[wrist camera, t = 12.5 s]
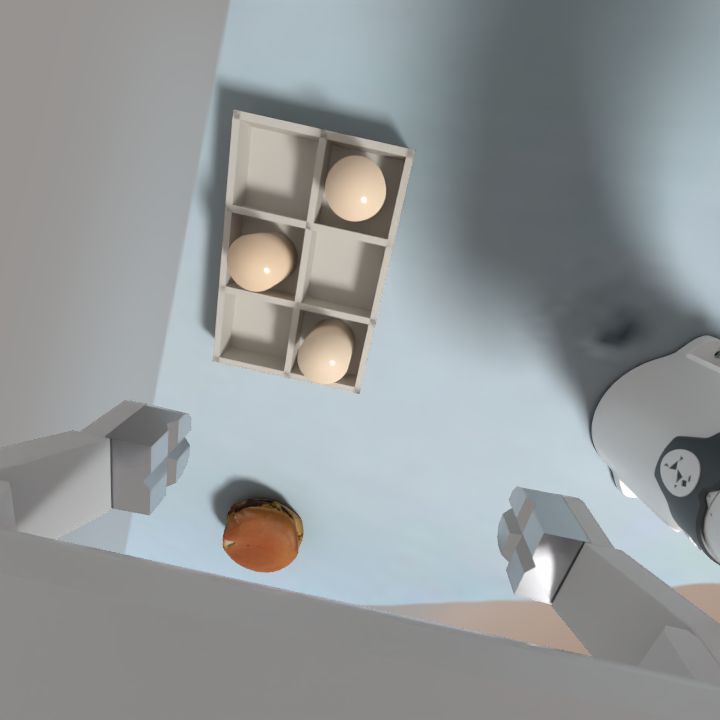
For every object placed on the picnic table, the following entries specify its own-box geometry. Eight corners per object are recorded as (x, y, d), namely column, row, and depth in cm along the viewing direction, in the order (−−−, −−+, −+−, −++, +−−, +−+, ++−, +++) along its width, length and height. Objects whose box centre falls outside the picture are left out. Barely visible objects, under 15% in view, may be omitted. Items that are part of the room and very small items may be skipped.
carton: (413, 155, 35) (415, 150, 32) (361, 379, 43) (359, 393, 40) (248, 119, 35) (233, 109, 32) (226, 349, 43) (212, 361, 40)
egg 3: (391, 170, 35) (391, 162, 30) (380, 224, 37) (378, 227, 31) (340, 159, 35) (330, 149, 30) (331, 214, 37) (320, 214, 31)
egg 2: (359, 323, 40) (353, 341, 35) (350, 365, 42) (343, 389, 36) (314, 313, 40) (301, 330, 35) (307, 355, 42) (293, 378, 36)
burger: (312, 548, 52) (305, 578, 47) (245, 555, 53) (232, 586, 49) (292, 485, 49) (282, 512, 44) (221, 494, 50) (205, 521, 46)
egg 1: (301, 236, 38) (285, 241, 32) (294, 284, 39) (277, 296, 34) (253, 226, 38) (229, 228, 32) (248, 275, 39) (224, 285, 34)
